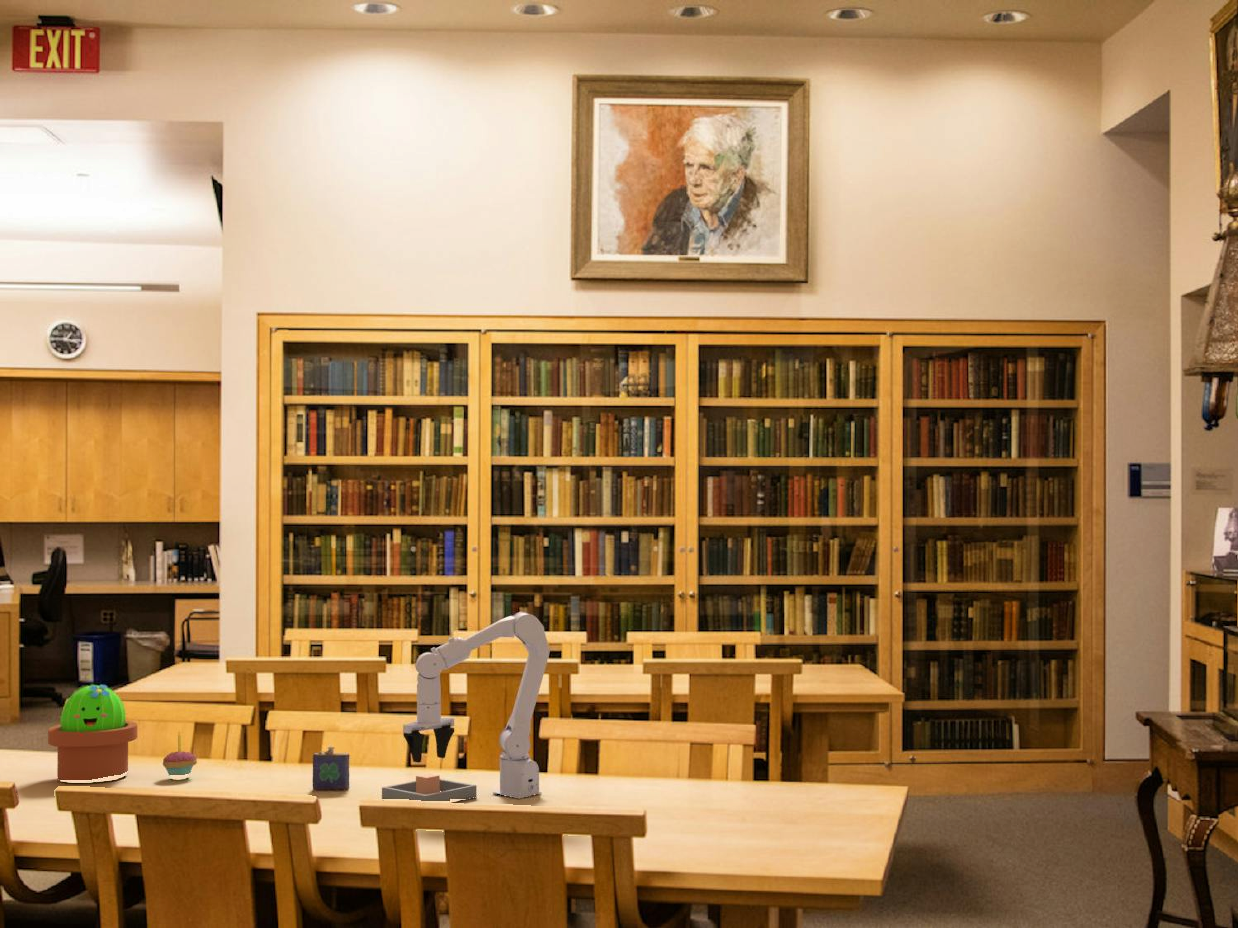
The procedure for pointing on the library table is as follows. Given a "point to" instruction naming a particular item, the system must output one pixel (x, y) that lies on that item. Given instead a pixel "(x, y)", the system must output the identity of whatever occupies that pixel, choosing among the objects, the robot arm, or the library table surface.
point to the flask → (330, 771)
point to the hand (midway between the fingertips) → (429, 759)
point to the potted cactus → (92, 735)
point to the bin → (447, 792)
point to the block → (427, 784)
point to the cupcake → (179, 761)
